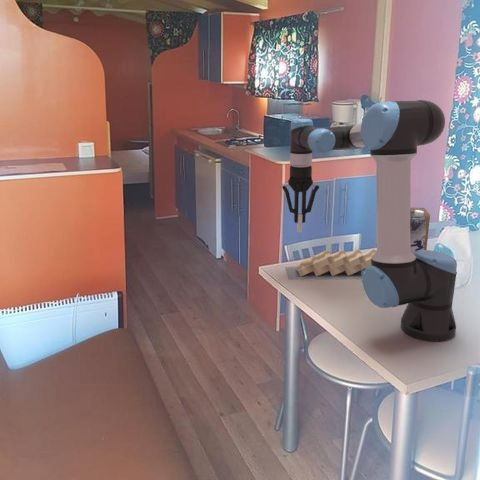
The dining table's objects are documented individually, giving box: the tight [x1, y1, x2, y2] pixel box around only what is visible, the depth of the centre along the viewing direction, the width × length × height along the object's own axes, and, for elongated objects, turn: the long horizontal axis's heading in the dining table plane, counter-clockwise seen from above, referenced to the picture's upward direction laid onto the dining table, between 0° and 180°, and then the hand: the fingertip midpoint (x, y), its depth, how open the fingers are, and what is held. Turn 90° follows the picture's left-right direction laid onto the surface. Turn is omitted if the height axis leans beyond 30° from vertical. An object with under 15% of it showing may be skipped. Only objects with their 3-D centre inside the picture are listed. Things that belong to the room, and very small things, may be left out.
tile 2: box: [314, 249, 350, 276], centre depth 202 cm, size 7×2×13 cm
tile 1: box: [295, 249, 334, 276], centre depth 202 cm, size 7×2×13 cm
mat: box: [284, 266, 362, 280], centre depth 204 cm, size 12×32×1 cm, turn 90°
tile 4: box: [345, 248, 377, 276], centre depth 203 cm, size 7×2×13 cm
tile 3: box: [330, 248, 366, 276], centre depth 203 cm, size 7×2×13 cm
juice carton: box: [410, 210, 426, 255], centre depth 188 cm, size 9×10×27 cm
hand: (299, 231), depth 198 cm, fingers closed
